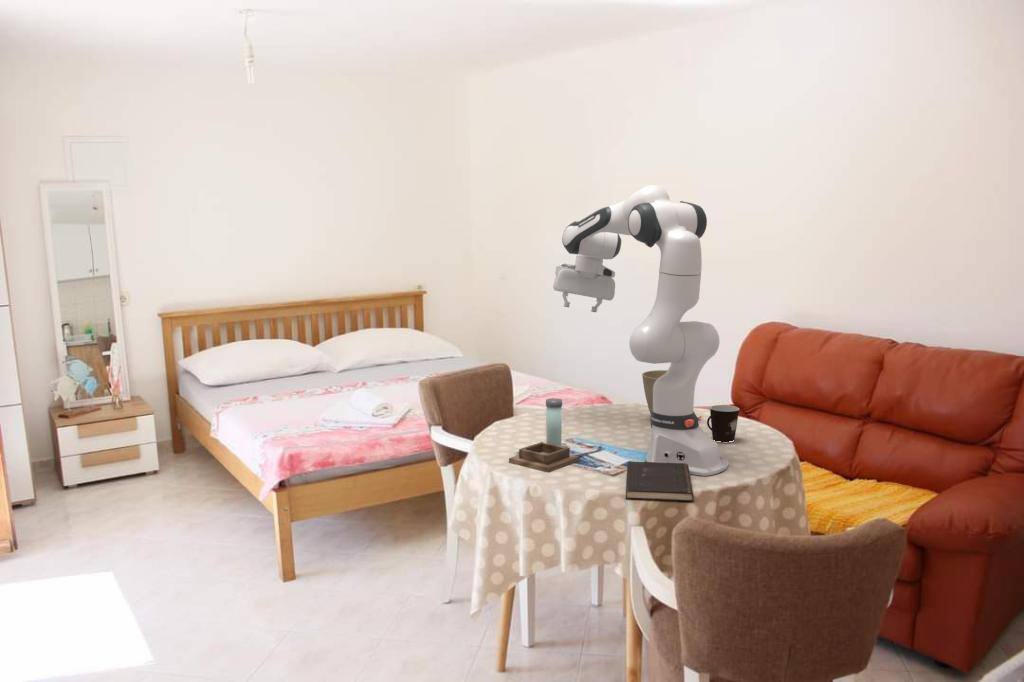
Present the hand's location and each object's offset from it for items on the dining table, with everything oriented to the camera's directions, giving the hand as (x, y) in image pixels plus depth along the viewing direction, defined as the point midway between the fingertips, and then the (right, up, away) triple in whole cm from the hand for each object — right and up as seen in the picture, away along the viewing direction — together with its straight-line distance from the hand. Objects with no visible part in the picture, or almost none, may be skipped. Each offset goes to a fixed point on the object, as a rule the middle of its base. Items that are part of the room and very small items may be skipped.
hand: (580, 309), depth 277 cm
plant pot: (+28, -37, +3) cm, 47 cm away
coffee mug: (+40, -41, -20) cm, 61 cm away
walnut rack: (-13, -44, -41) cm, 62 cm away
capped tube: (-10, -42, -28) cm, 51 cm away
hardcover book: (+15, -47, -62) cm, 79 cm away
